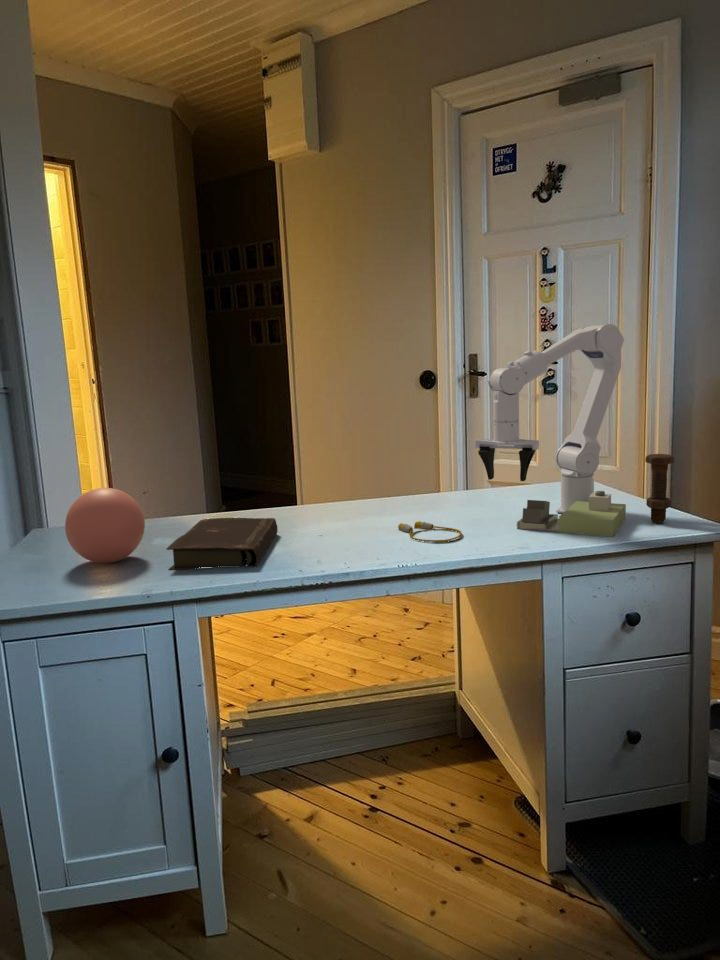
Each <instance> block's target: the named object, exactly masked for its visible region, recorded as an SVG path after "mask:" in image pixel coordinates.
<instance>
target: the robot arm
mask: <svg viewBox="0 0 720 960" xmlns="http://www.w3.org/2000/svg"><path fill="white" fill-rule="evenodd" d="M624 342H625V338H624V336H623V334H622V332H621V330H620V328H618V326H616V325H615V324H611V323H607V324H601V325H589V324H588V325H584V326H582V327H580V328H579V329H575V330H573V331H571V333H569V334H567V336H565V337H563V338H562V339H560V340H558V341H557V342H555V343H554V344H552V345H550V346H549V347H547V348H546V349H544V350H542V351H538V350H527V351H525V352H523V355H522V357H519V358H518V359H517V360H514V361H509V362H508V363H506V365H507V366H506V367H500V368H497V369H494V370H493V371H492V374H491V375H490V377H489V380H488V381H487V383H488V387H489V389H490V390H491V391H492V397H493V402H492V403H493V409H492V410H493V438H477V439H475V440H474V445H475V449H479V450H478V451H477V452H478V455H479V456H480V459H481V460H482V463H483V465H484V468H485V471H486V475H487V479H488V480H489V481H491V480H493V479H495V478H494V477H495V467H494V465H495V463H494V462H495V454H496V453H495V452H496V449H507V450H508V449H509V450H510V449H511V450H518V456H519V465H520V466H519V467H520V472H519V478H520V482H525V481H526V480H527V474H528V470H529V466H530V464H531V462H532V459H533V457H534V455H535V453H536V451H537V450H539V449H540V440H538V439H537V440H536V439H520V392H521V391H522V389H523V388H524V386H525V385H527V384H528V383H530V382H532V381H534V380H535V379H537V378H539V377H541V376H542V375H544V374H545V373H547V372H548V369H549V366H550V365H551V364H554V363H555V362H557V361H558V360H560V359H562V358H564V357H566V356H568V355H570V354H572V353H574V352H576V351H580V352H581V353H582V354H583V355H584V356H585V357H586V358H587V359H588V360H589V361H590V362H591V364H592V366H593V368H594V372H593V374H592V376H591V377H592V378H591V379H590V383H589V385H588V389H587V392H586V394H585V397H584V400H583V403H582V406H581V409H580V412H579V415H578V417H577V420H576V424H575V426H574V429H573V431H572V432H571V433H570V434H568V436H566V437H565V438H564V441H563V443H562V445H561V446H560V447H559V448H558V450H557V451H556V454H555V463H556V465H557V466H558V468H559V469H560V507H558V508H557V510H556V511H555V513H559V514H563V513H564V512H565V511H566V510H567V509H568V508H569V507H570V506H571V505H572V504H574V503H575V502H576V501H581V502H589V496H590V495H591V494H592V493H595V481H594V474H595V472H596V471H597V469H598V467H599V464H600V451H601V449H602V448H601V445H600V443H599V441H598V438H597V437H598V435H599V432H600V428H601V426H602V424H603V423H602V422H603V420H604V418H605V415H606V412H607V409H608V407H609V403H610V400H611V397H612V396H613V392H614V389H615V386H616V383H617V381H618V378H619V374H620V372H621V369H622V347H623V345H624Z"/></svg>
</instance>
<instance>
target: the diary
mask: <svg viewBox="0 0 720 960" xmlns="http://www.w3.org/2000/svg"><path fill="white" fill-rule="evenodd" d="M278 529H279V528H278V524H277V521H276V518H275V517H267V518H264V517H262V518H261V517H256V518H255V517H254V518H253V517H217V518H216V517H215V518H203V519H200V520H199V521H197V523H195V525H193V526H192V527H191V528H190V529H189V530H188V531H187V532H185V534H183V535H181V536H180V537H178V538H176V539H175V540H173V542H172V543H171V544H170V545H168V547H167V548H166V551H169V550H170V551H172V553H173V554H172V555H173V565H172V566H171V567H169V568H168V571H185V570H186V571H187V570H188V569H189V570H190V569H193V570H198V569H197V568H199V567H200V568H201V567H213V568H221V567H220V566H241V565H242V566H243V564H244V563H245V565H248V566H249V565H250V563H251V562H252V561H253V560H254V558H255V563H254V567H256V568H257V566H258V565H257V564H259V563H260V561H261V559H262V558H263V556H264V555H265V553H266V552H267V551H268V549H269V547H270V545H271V543H272V542H273V541H274V540H275V537H276V536H277V534H278ZM271 541H272V542H271ZM263 554H264V555H263ZM261 557H262V558H261ZM245 559H247V560H245ZM244 561H245V562H244ZM243 562H244V563H243ZM218 566H219V567H218ZM242 566H241V567H242ZM254 567H253V568H254ZM195 568H196V569H195ZM189 570H188V571H189Z"/></svg>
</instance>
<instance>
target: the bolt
mask: <svg viewBox="0 0 720 960" xmlns="http://www.w3.org/2000/svg"><path fill="white" fill-rule="evenodd" d="M645 463H647V464H650V466H651V467H650V470H651V482H650V483H651V489H650V494H651V495H650V497H648V498H647V499H646V504H645V505H646V506H647V507H648V508H649V509H650V521H651V523H653V524H655V523H656V524H655V525H658V524H660V523H661V524H664V523H665V521H666V519H667V509H668V508H670V507H671V506H672V501H671V499H670V498H669V497H667V489H668V471H669V465H671V464H674V463H675V457H674V455H672V454H667V453H651V454H647V455H646V456H645Z"/></svg>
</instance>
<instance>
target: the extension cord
mask: <svg viewBox="0 0 720 960" xmlns="http://www.w3.org/2000/svg"><path fill="white" fill-rule="evenodd" d="M417 528H423V529H420V530H416V531H414V529H417ZM432 528H433V529H432ZM397 529H398V531H401V532H404V531H405V532H404V533H408V534H409V535H410V537H409V538H410V539H411V538H412V539H415V540H419V541H424V542H423V543H425V542H446V543H449V542H448V541H453V542H456V541H455V540H457V541H459V540H460V539H461V538H462V536H463V535H462V534H463V532H462V531H461V530H460V529H458V528H457V529H456V528H453V527H445V526H436V525H434V524H433V523H430V522H426V521H420V520H419V521H416V522H414V529H413V526H411V525H409V524H406V523H399V524H398V526H397ZM428 530H434V531H447V530H453V531H452V532H455V531H457V532H456V533H458V532H459V533H458V535H457V536H455V537H451V538H449V539H447V538H446V539H424V538H416V537H413V536H414V535H415V534H417V533H416V532H418V533H421V532H420V531H424V532H429V531H428ZM409 535H408V536H409ZM412 539H411V540H412ZM458 539H459V540H458ZM415 540H414V541H415Z"/></svg>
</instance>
